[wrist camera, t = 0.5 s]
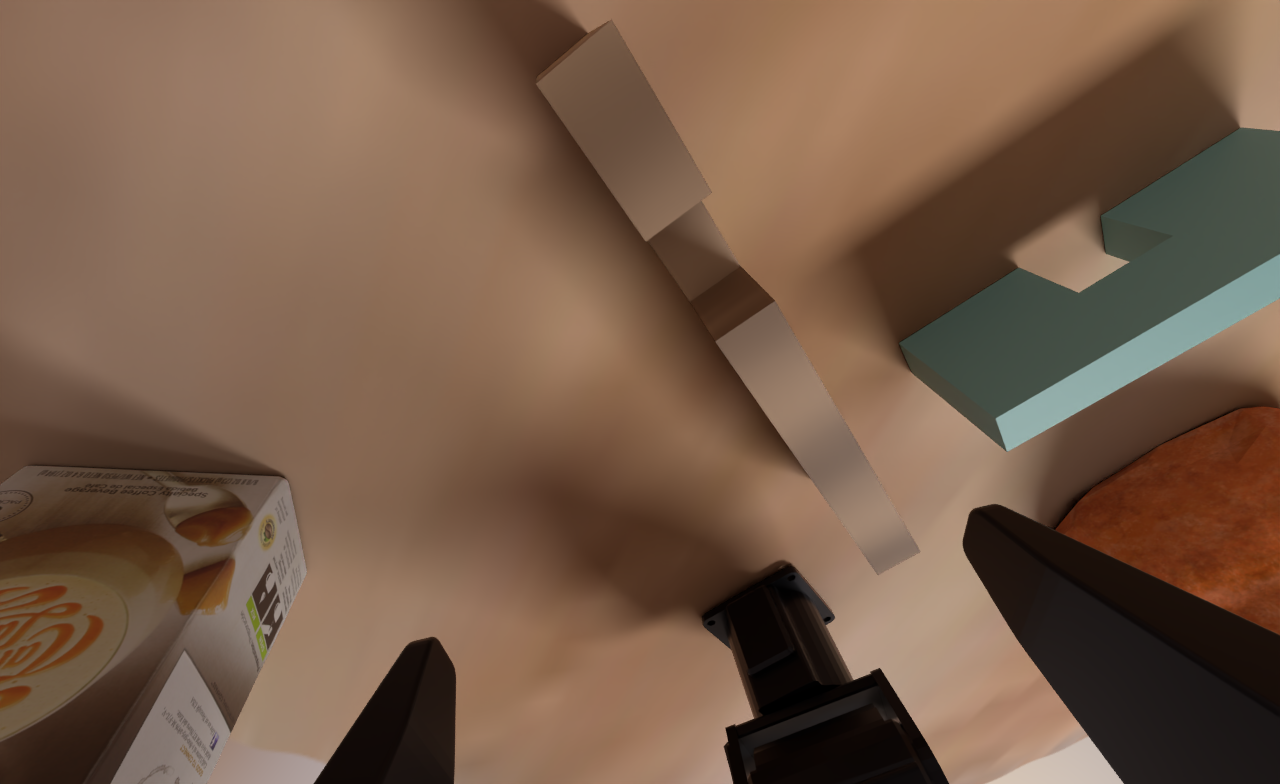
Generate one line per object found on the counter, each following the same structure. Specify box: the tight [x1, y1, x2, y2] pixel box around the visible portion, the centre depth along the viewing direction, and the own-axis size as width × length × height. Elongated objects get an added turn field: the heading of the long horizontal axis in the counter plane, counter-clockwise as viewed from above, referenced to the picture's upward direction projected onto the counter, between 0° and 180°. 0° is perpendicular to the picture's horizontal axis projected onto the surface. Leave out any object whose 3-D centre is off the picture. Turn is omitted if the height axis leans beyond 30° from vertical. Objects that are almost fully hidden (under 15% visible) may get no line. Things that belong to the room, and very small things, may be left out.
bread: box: [1055, 406, 1280, 635], centre depth 33 cm, size 16×31×13 cm, turn 35°
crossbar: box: [899, 128, 1280, 452], centre depth 20 cm, size 15×2×6 cm, turn 124°
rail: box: [536, 20, 921, 575], centre depth 19 cm, size 22×2×6 cm, turn 34°
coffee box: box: [0, 466, 307, 784], centre depth 16 cm, size 9×6×16 cm
